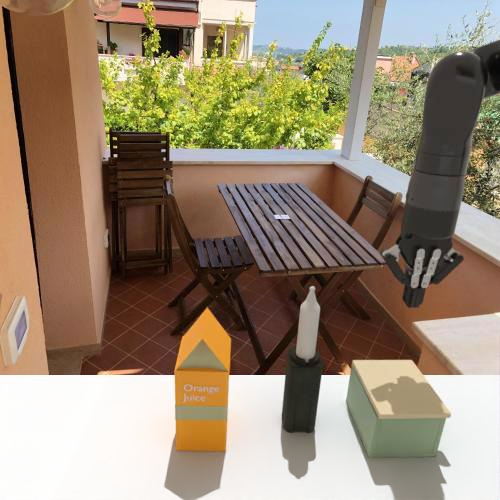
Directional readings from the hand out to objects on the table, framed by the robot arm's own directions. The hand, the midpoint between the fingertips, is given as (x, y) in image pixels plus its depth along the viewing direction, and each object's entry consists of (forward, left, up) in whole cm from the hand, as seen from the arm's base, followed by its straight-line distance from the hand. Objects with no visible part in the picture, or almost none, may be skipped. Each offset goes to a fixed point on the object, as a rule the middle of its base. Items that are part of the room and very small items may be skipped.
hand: (411, 305), depth 69 cm
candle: (+10, +15, -20) cm, 27 cm away
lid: (-2, +6, -12) cm, 13 cm away
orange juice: (+20, +27, -20) cm, 39 cm away
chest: (-2, +6, -20) cm, 21 cm away
